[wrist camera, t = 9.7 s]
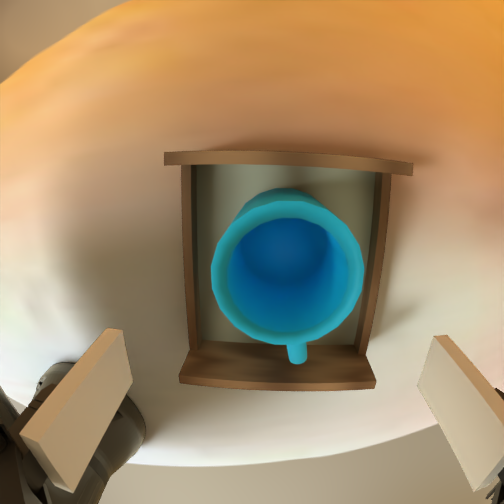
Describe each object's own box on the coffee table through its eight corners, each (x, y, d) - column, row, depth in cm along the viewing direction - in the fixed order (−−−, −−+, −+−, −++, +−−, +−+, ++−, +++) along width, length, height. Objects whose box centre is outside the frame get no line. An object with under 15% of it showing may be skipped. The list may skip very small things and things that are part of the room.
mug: (221, 196, 23) (196, 213, 16) (329, 180, 23) (358, 190, 15) (248, 335, 27) (238, 398, 19) (342, 323, 26) (364, 382, 18)
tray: (196, 342, 28) (179, 383, 22) (189, 154, 23) (164, 152, 17) (358, 348, 27) (374, 388, 21) (381, 162, 22) (413, 163, 17)
